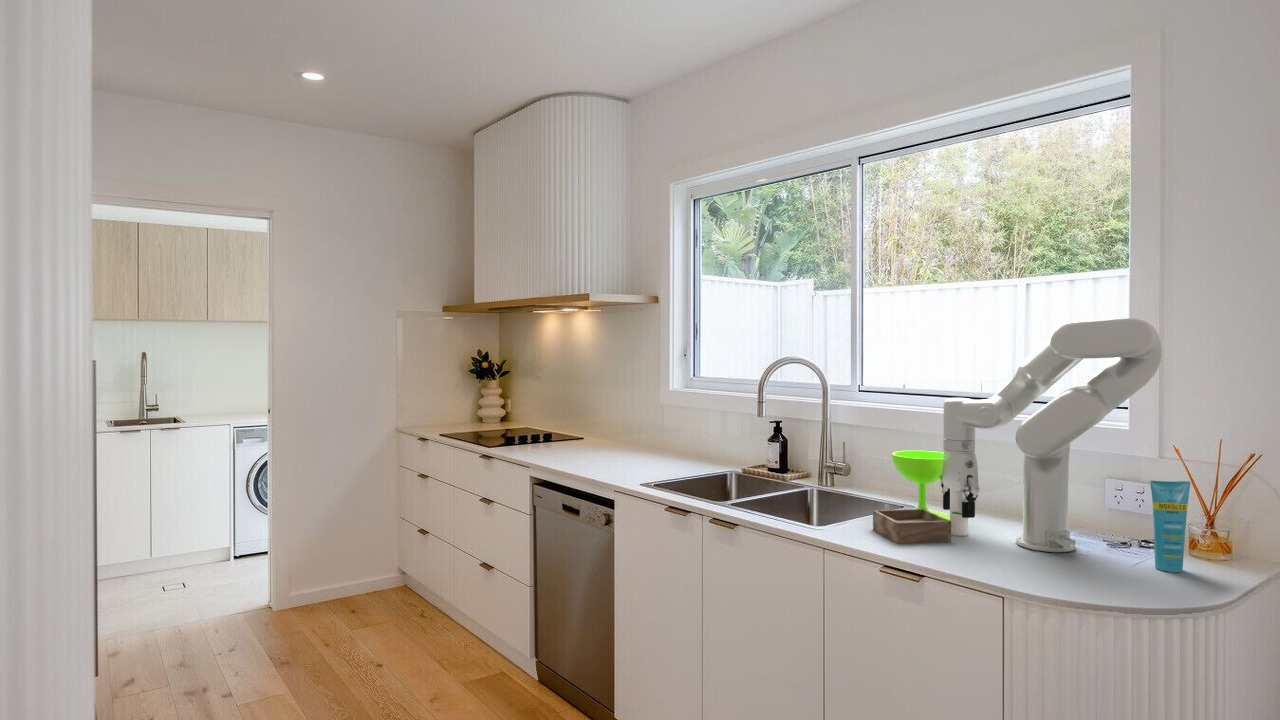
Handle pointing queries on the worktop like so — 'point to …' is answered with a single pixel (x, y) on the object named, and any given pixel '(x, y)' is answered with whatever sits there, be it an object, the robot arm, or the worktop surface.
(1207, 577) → the worktop surface
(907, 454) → the wineglass
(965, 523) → the tube
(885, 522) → the open wooden box
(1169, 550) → the tube
